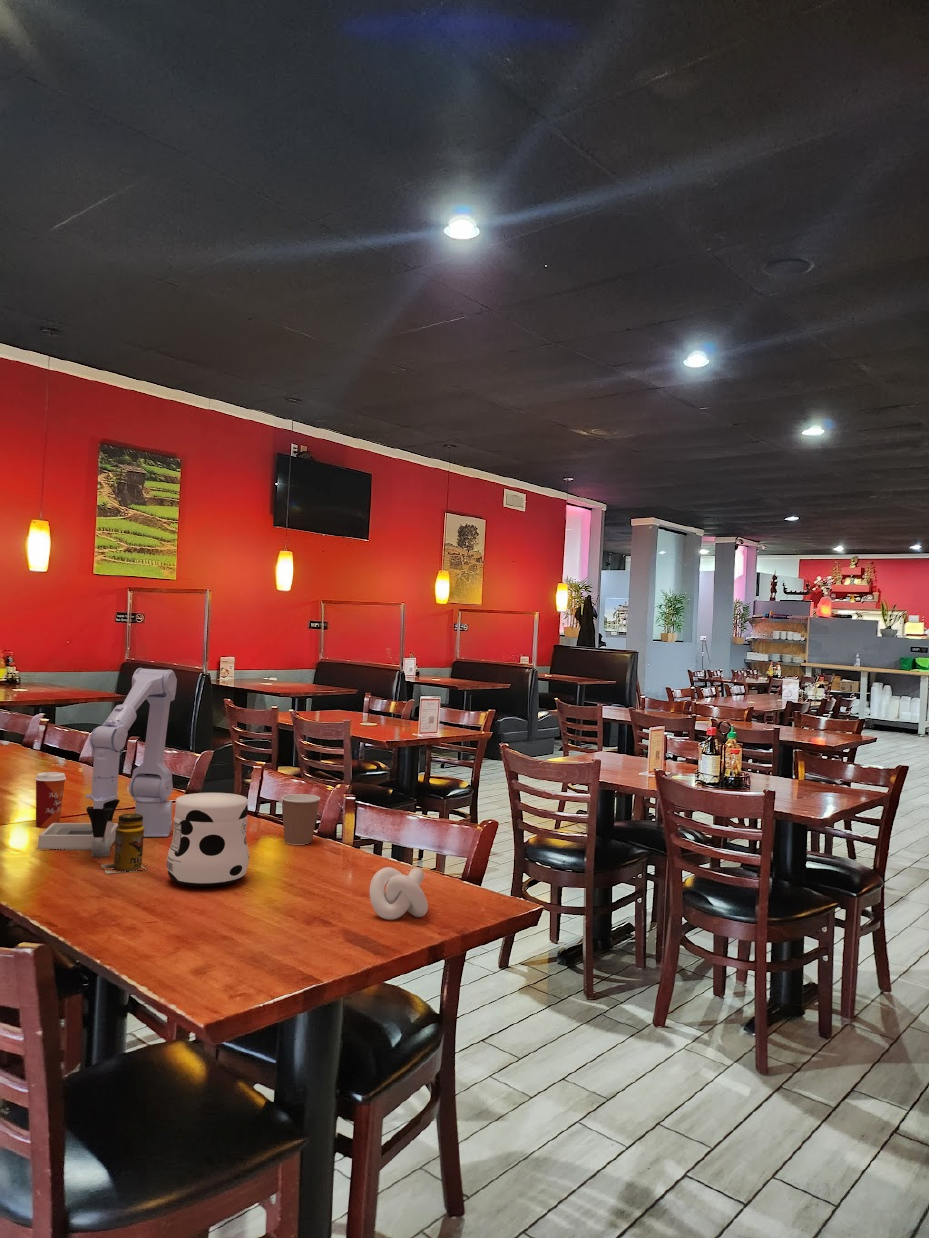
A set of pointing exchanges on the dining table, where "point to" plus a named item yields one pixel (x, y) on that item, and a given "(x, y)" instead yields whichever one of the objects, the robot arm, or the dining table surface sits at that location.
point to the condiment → (128, 844)
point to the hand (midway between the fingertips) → (101, 833)
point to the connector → (102, 843)
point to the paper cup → (49, 798)
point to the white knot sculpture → (398, 893)
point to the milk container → (209, 839)
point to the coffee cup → (299, 817)
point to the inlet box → (70, 836)
